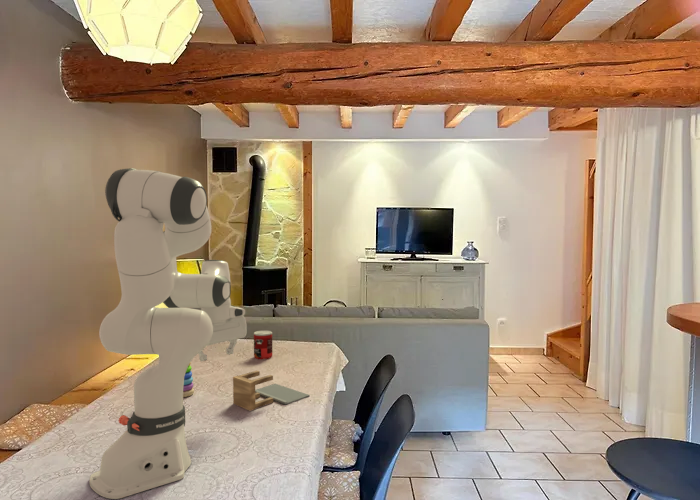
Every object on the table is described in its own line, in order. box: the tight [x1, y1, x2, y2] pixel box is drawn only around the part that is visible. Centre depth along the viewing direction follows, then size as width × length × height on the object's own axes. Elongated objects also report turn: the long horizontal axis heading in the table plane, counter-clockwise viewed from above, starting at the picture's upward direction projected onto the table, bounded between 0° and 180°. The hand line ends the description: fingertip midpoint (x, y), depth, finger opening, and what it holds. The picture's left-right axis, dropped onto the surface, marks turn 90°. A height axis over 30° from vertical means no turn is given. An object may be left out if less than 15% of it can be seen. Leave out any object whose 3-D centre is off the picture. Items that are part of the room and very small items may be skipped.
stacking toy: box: [183, 361, 195, 398], centre depth 172 cm, size 8×8×19 cm
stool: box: [232, 370, 274, 412], centre depth 164 cm, size 10×9×9 cm
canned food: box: [253, 330, 273, 360], centre depth 218 cm, size 8×8×11 cm
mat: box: [255, 383, 311, 406], centre depth 173 cm, size 11×18×1 cm, turn 48°
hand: (216, 357), depth 153 cm, fingers open, 8 cm apart
